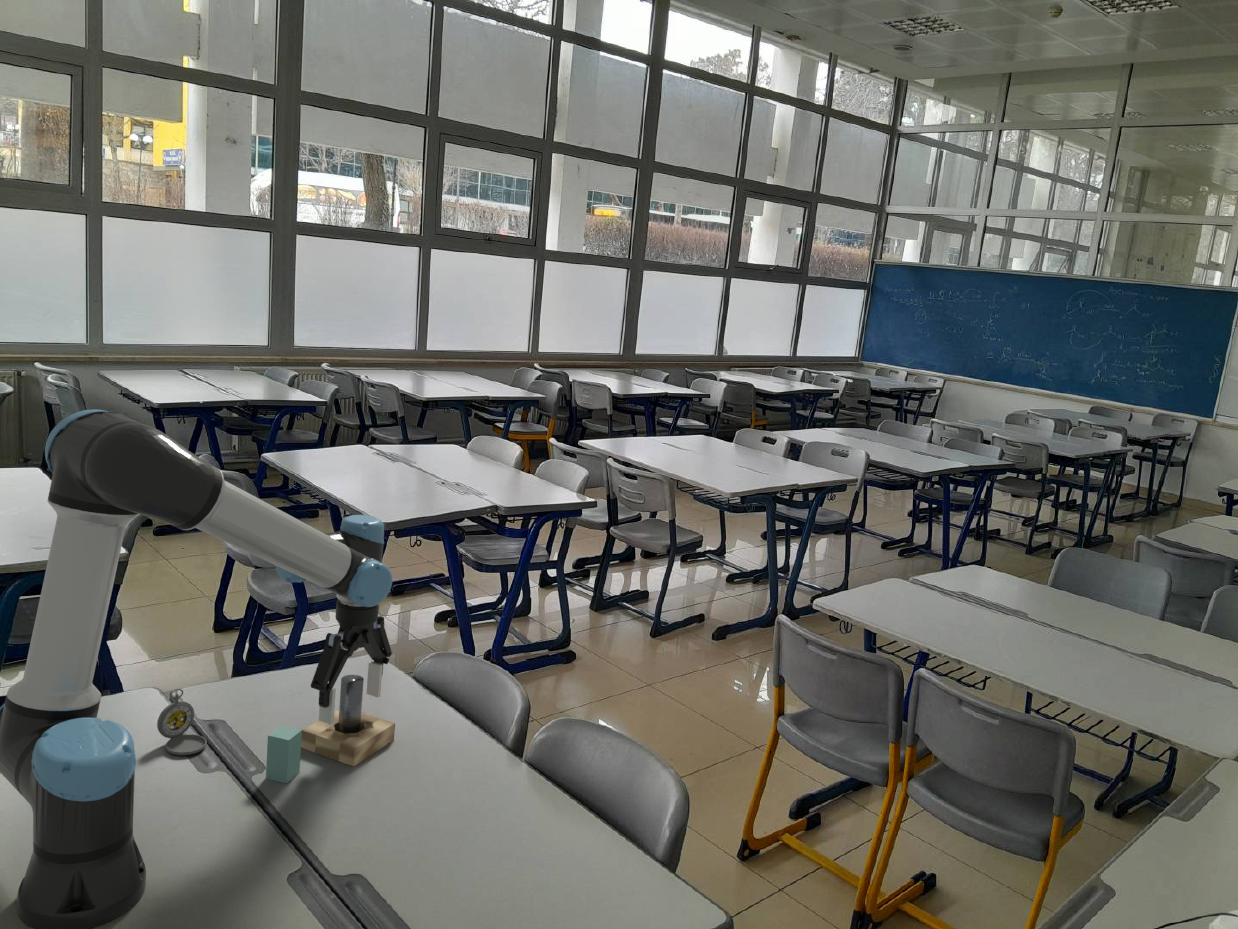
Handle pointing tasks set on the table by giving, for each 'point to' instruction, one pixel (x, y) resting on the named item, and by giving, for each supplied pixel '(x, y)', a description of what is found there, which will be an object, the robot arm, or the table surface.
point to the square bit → (283, 754)
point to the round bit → (350, 704)
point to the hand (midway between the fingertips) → (350, 708)
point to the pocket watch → (179, 728)
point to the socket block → (348, 739)
